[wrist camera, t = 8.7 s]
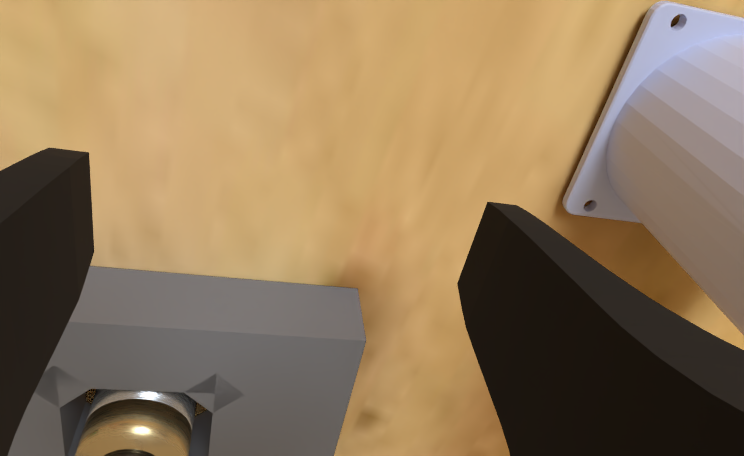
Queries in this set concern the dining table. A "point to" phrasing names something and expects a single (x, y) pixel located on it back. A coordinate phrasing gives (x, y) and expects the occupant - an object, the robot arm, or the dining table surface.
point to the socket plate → (205, 361)
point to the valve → (138, 424)
